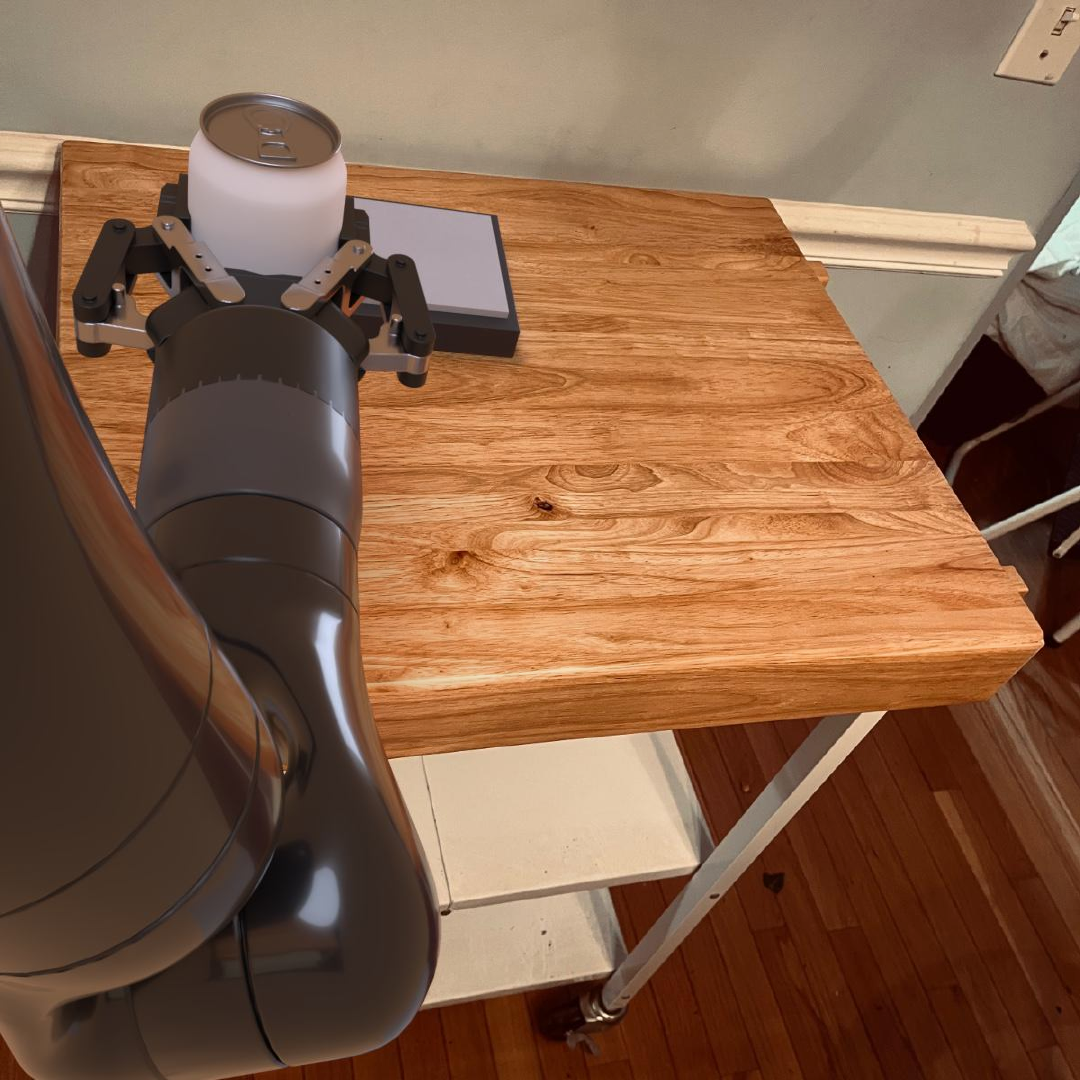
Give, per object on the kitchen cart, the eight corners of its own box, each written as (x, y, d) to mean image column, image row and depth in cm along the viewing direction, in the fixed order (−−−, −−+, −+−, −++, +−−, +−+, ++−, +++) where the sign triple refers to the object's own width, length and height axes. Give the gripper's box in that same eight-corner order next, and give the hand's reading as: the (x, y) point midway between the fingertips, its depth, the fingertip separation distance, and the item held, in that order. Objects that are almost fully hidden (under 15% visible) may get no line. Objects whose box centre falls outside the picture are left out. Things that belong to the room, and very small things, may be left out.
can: (314, 315, 55) (337, 93, 46) (336, 400, 51) (365, 176, 43) (182, 313, 53) (180, 80, 44) (194, 403, 49) (196, 166, 40)
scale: (310, 338, 71) (313, 302, 69) (309, 218, 80) (312, 182, 78) (513, 358, 75) (522, 324, 73) (491, 241, 84) (499, 208, 82)
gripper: (473, 405, 37) (437, 151, 48) (20, 365, 33) (91, 98, 44) (437, 545, 42) (412, 288, 53) (43, 524, 39) (101, 252, 49)
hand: (266, 203), depth 48 cm, fingers closed on can, 6 cm apart
